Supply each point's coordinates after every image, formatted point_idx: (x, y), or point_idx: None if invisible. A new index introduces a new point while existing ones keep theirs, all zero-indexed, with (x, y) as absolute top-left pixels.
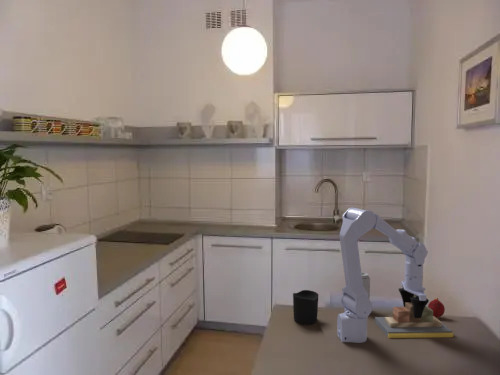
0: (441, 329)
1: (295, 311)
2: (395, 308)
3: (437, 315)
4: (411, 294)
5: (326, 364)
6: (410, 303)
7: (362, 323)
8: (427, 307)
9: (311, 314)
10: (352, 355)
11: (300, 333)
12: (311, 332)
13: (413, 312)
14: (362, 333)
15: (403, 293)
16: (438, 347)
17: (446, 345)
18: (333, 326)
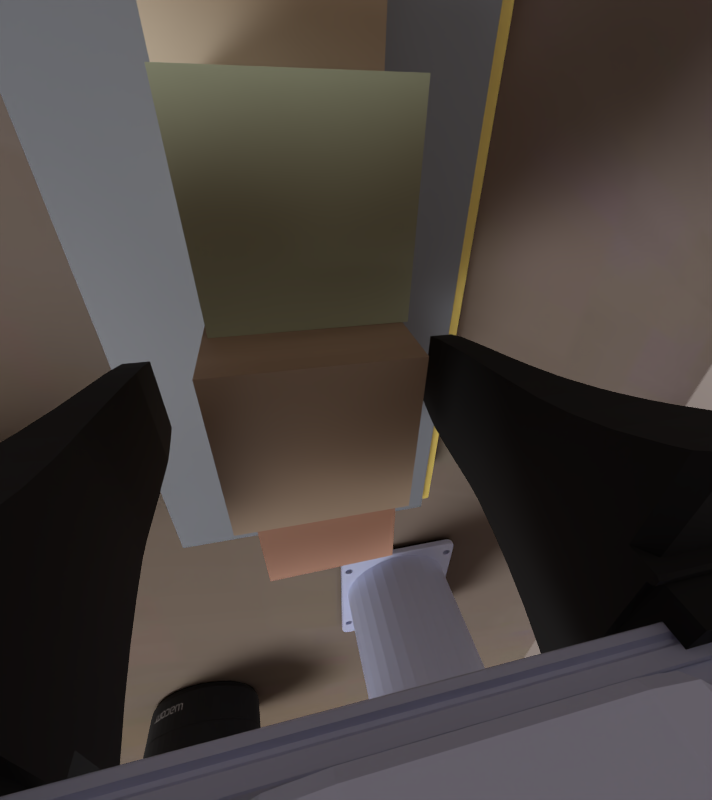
0: (452, 10)
1: None
2: (311, 568)
3: None
4: (32, 561)
5: (523, 621)
6: (275, 483)
7: (483, 666)
8: (231, 109)
9: None
10: (501, 581)
11: (330, 688)
12: (322, 672)
13: (450, 447)
14: (459, 610)
15: (106, 694)
16: (573, 204)
17: (574, 102)
18: (260, 638)
